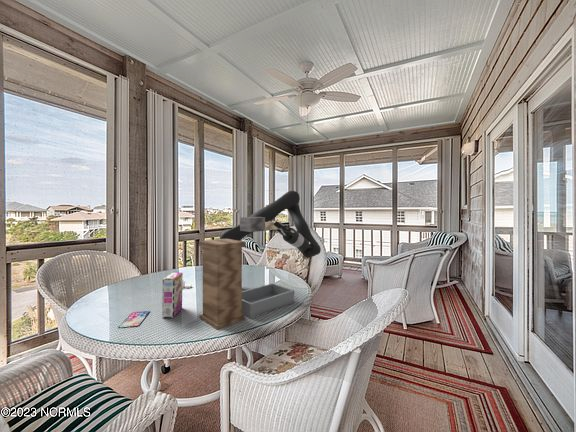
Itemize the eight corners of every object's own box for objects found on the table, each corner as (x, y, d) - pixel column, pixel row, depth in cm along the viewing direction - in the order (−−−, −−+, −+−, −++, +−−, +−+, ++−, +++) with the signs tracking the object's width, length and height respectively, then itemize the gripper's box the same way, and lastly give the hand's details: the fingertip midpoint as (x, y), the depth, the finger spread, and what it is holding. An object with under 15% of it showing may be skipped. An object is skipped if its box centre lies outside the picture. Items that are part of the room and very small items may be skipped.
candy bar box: (174, 318, 108) (174, 278, 108) (162, 318, 108) (161, 278, 107) (183, 307, 119) (182, 271, 119) (171, 307, 119) (171, 272, 118)
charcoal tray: (250, 318, 108) (250, 304, 108) (229, 307, 120) (229, 294, 119) (294, 302, 126) (294, 290, 126) (272, 294, 138) (272, 283, 138)
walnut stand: (216, 329, 98) (216, 244, 97) (199, 317, 108) (199, 241, 107) (245, 319, 108) (245, 241, 106) (226, 309, 118) (226, 238, 116)
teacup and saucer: (193, 287, 150) (193, 280, 149) (181, 291, 143) (181, 284, 143) (184, 285, 154) (184, 278, 154) (171, 288, 148) (171, 281, 147)
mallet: (250, 232, 112) (250, 217, 112) (239, 230, 118) (239, 217, 117) (284, 229, 126) (284, 216, 126) (273, 228, 132) (273, 216, 131)
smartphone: (116, 327, 99) (131, 312, 113) (116, 329, 99) (131, 313, 113) (139, 325, 100) (150, 310, 115) (139, 327, 100) (151, 312, 115)
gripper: (286, 230, 142) (265, 215, 132) (306, 232, 132) (285, 216, 122) (281, 242, 140) (259, 228, 129) (301, 245, 130) (279, 230, 119)
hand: (272, 222), depth 125 cm, fingers closed on mallet, 3 cm apart
